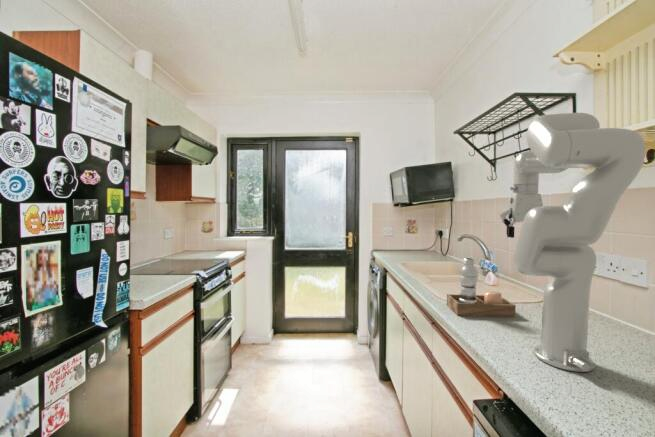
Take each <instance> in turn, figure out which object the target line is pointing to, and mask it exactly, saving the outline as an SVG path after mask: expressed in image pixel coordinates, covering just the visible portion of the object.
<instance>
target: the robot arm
mask: <svg viewBox="0 0 655 437" xmlns="http://www.w3.org/2000/svg"><path fill="white" fill-rule="evenodd" d="M526 142H527V145H528V147H529V149H530V150H526V151H522V152H520V153H518V155H517V156H516V157H515V158H514V162H513V164H514V167H513V185H512V186H511V187H510V188H509V189H510V191H512V193H511V195H510V197H509V198H510V199H509V203H508V209H507V210H506V211H504V212H501V213H500V214H499V216H500V219H501V222H502V223H503V224H504V225H505V226H506V237H507V238H513V239H514V238H515V226H514V225H515V223H517V222H521V223H522V225H521V226H520V227H521V228H520V231H519V235H518V238H517V242H516V245H515V249H514V253H513V254H514V255H513V263H514V264H513V265H514V267H515V269H516V270H517V271H518V272H519V273H520V274H523V275H527V276H534V277H535V276H536V277H548V278H549V277H550V278H551V279H550V281H549V282H548V283H547V284H546V285H545V287H544V289H543V293H542V312H541V314H542V315H541V339H540V340H541V342H540V344H539V345H535V347H534V348H533V353H534V354H533V355H534V356H535V357H536V358H538V360H540V361H542V362H544V363H545V364H547V365H549V366H552V367H556V368H558V369H562V370H565V371H571V372H578V373H580V372H581V373H585V372H586V373H587V372H591V371H593V370H594V368H596V366H597V365H596V363H595V362H594V360H593V359H591V357H590V352H589V351H588V335H589V334H588V333H589V332H588V330H589V311H590V310H589V309H590V296H591V295H590V294H591V285H592V280H593V277H594V274H595V271H596V270H595V269H596V267H597V254H596V252H595V250H594V249H593V248H592V247H591V246H590V245H593V244H595V243H597V242H598V241H599V240H600V238H601V237H602V235H603V234H604V232H605V229H606V227H607V226H608V223H609V222H610V219H611V218H612V216H613V213H614V210H615V209H616V206H617V204H618V202H619V200H620V199H621V197H622V196H623V194H624V193H625V192H626V190H627V189H628V188H629V186H631V184H632V183H633V182H634V181H635V179H636V178H637V176H638V175H639V173H640V171H641V169H642V167H643V165H644V162H645V159H646V152H647V149H646V148H647V147H646V143H645V139H644V138H643V136H642V135H641V134H640V133H639V132H638V131H635V130H632V129H627V128H618V127H604V128H603V127H601V128H600V122H599V120H598V118H597V117H595V116H594V115H593V114H590V113H586V112H567V113H553V114H552V113H550V114H542V115H539V116H538V117H536V118H534V119H533V120H532V121H531V122H530V124H529V126H528V128H527V132H526ZM586 168H587V169H591V168H593V169H594V168H595V169H594V170H593V171H592V172H591V173H589V174H587V175H585V176H584V177H583V178H582V179H580V180H579V181H577V183H576V184H575V185H573V187H572V188H571V189H570V192H569V194H568V196H567V199H566V202H565V203H564V204H562V205H543V198H542V194H541V193H539V182H540V181H539V180H540V174H558V173H559V174H560V173H562V172H565V171H567V170H568V169H586ZM507 216H508V217H507ZM507 218H508V219H507Z"/></svg>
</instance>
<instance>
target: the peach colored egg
mask: <svg viewBox="0 0 655 437" xmlns="http://www.w3.org/2000/svg"><path fill="white" fill-rule="evenodd" d="M483 295H484V302H485V303H486V304H501V297H502V293H501V292H497V291H493V290H486V291H484V294H483Z"/></svg>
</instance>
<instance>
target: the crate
mask: <svg viewBox="0 0 655 437" xmlns="http://www.w3.org/2000/svg"><path fill="white" fill-rule="evenodd" d="M459 298H460V294H451V293H449V294H446V306H447V307H448V308H449V309H450V310H451V311H452V312H453V313H454V314H455V315H456V316H459V317H485V318H489V317H490V318H516V304H514V303H512V302H510V301H509V300H507V299H506V298H504V297H503V296H501V304H486V303H485V302H484V294H480V295H479V294H476V300H477V304H473V303H459Z"/></svg>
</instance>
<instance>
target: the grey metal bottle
mask: <svg viewBox="0 0 655 437" xmlns="http://www.w3.org/2000/svg"><path fill="white" fill-rule="evenodd" d="M463 264H464V265H463V266H462V267H461V268H460V270H459V278H460V279H459V280H460V293H459V295H460V298H459V303H473V304H477V300H476V295H477V286H478V285H477V283H478V279H479V278H478V277H479V271H478V269H477V268H476V266H475V258H471V257H464V258H463Z"/></svg>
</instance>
